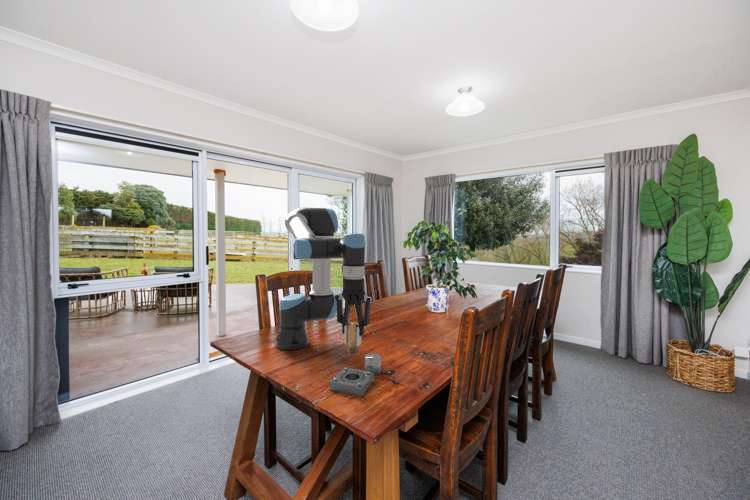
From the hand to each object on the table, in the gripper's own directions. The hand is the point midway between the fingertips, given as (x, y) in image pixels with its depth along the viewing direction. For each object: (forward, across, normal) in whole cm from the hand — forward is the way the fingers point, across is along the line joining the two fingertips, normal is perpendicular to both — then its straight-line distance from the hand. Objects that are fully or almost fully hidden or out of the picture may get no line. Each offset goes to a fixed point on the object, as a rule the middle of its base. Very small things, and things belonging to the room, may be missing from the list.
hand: (352, 343), depth 113 cm
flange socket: (+15, 0, 0) cm, 15 cm away
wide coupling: (+15, +3, +13) cm, 20 cm away
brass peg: (+3, 0, 0) cm, 3 cm away
